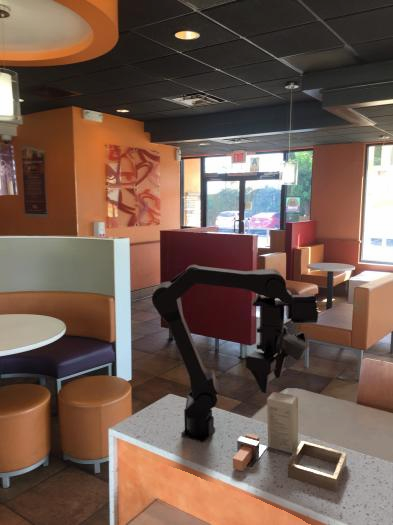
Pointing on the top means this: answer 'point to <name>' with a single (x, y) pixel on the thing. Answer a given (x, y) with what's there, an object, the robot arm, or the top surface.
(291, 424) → the skincare box
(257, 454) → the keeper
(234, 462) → the lock bar
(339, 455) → the open wooden box
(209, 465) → the top surface
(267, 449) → the coaster
